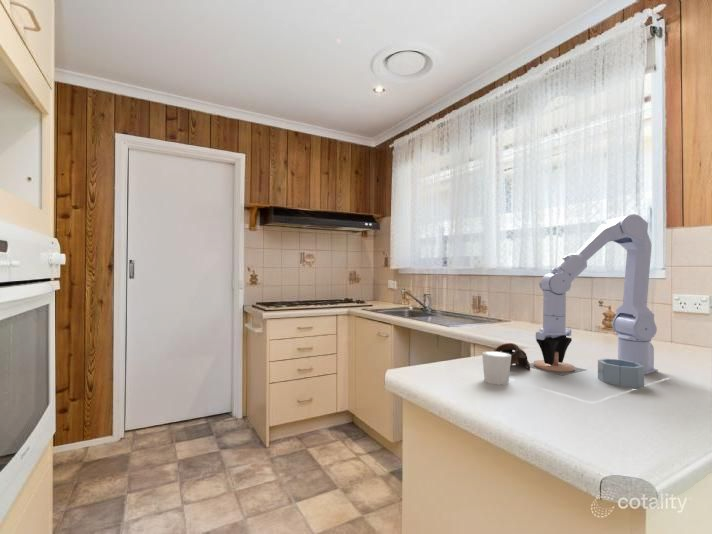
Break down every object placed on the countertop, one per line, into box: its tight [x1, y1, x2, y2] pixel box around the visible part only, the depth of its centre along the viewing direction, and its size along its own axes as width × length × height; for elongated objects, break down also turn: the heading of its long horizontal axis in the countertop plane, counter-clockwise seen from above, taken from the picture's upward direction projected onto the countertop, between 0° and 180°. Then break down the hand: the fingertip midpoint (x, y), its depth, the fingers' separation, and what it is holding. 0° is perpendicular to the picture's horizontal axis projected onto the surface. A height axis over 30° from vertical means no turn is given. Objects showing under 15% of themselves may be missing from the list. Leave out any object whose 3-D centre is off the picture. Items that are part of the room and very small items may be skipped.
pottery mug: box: [493, 342, 531, 371], centre depth 106 cm, size 12×10×8 cm
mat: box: [529, 362, 587, 376], centre depth 106 cm, size 12×12×1 cm
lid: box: [533, 351, 576, 372], centre depth 106 cm, size 10×10×4 cm
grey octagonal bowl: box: [597, 358, 645, 390], centre depth 93 cm, size 9×9×5 cm
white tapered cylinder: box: [481, 350, 511, 385], centre depth 93 cm, size 7×7×7 cm
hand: (553, 362), depth 106 cm, fingers open, 4 cm apart
